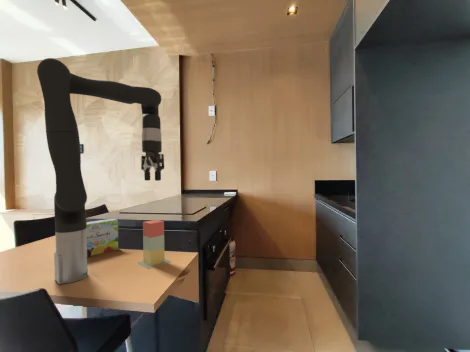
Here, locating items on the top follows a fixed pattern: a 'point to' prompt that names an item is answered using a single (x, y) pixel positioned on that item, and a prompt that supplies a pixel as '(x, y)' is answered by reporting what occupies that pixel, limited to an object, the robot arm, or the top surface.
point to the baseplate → (153, 265)
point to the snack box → (102, 236)
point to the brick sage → (153, 243)
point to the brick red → (153, 228)
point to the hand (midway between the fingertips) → (152, 180)
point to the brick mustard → (153, 257)
